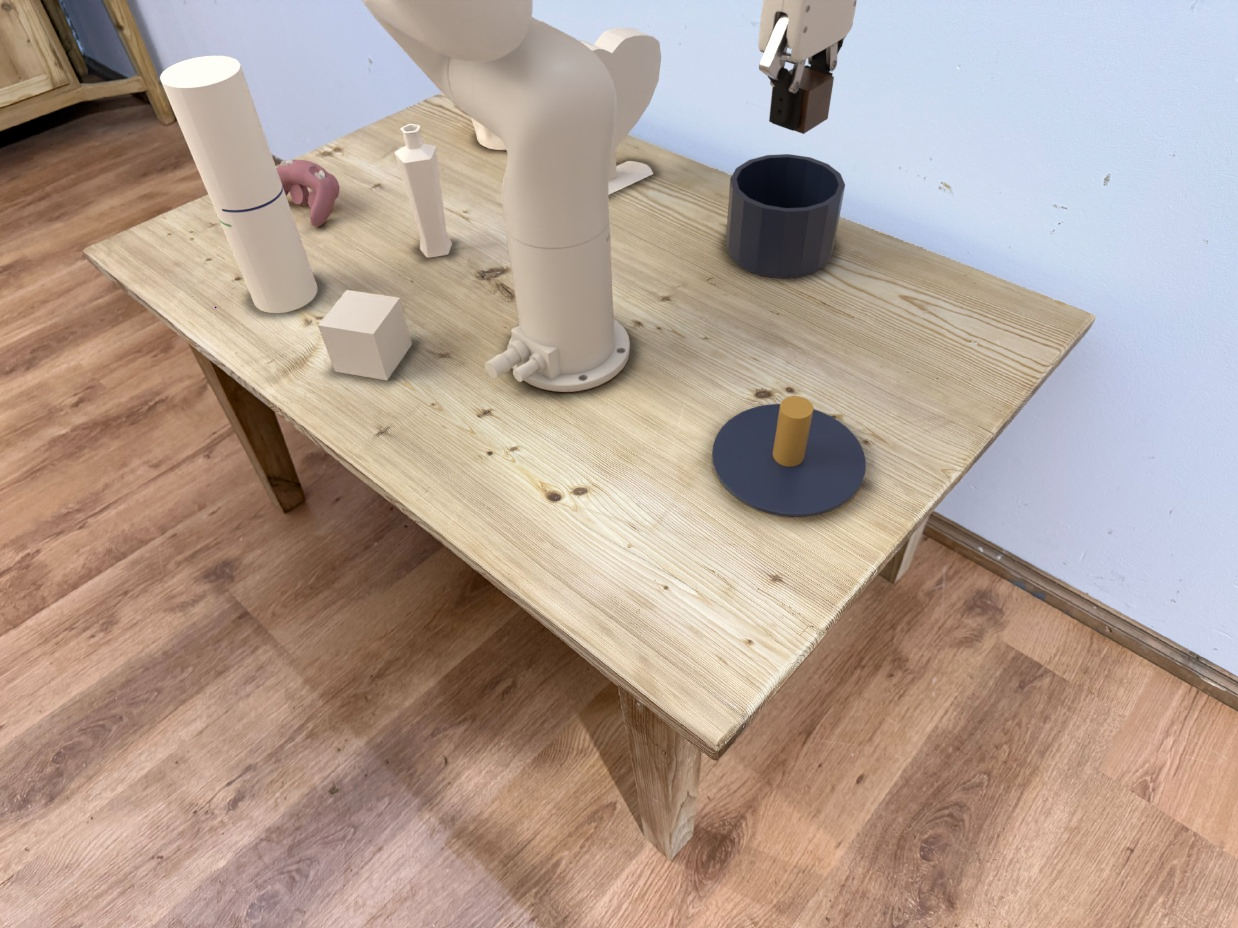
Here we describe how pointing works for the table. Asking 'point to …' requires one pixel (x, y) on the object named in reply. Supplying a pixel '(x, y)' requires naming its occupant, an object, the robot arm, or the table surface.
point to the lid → (789, 459)
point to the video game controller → (314, 177)
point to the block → (813, 99)
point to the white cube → (366, 334)
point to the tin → (783, 215)
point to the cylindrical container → (241, 179)
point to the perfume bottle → (424, 191)
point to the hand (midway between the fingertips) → (798, 115)
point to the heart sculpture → (628, 91)
